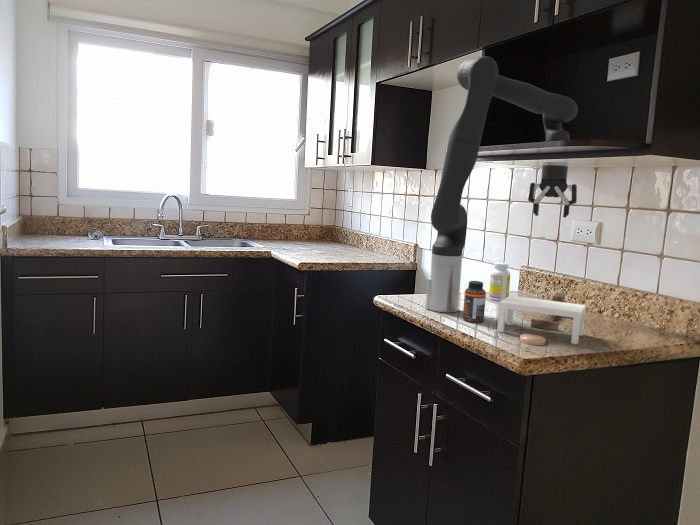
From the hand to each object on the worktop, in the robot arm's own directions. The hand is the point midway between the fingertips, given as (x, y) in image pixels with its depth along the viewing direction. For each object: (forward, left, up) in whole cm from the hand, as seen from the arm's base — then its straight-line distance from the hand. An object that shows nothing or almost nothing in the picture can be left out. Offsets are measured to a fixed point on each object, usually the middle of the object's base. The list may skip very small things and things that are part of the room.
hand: (550, 216), depth 178 cm
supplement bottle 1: (-14, -31, -30) cm, 46 cm away
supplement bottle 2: (-16, +8, -30) cm, 35 cm away
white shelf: (+5, -34, -30) cm, 46 cm away
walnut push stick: (+5, -13, -30) cm, 33 cm away
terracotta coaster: (+5, -45, -30) cm, 54 cm away
